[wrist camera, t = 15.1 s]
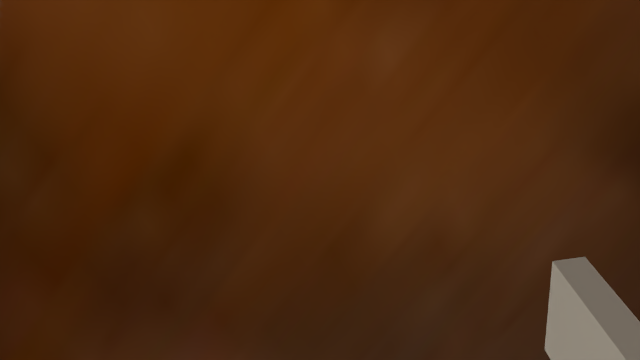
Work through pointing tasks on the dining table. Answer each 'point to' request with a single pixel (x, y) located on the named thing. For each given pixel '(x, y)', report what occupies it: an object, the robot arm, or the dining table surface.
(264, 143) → the dining table surface
